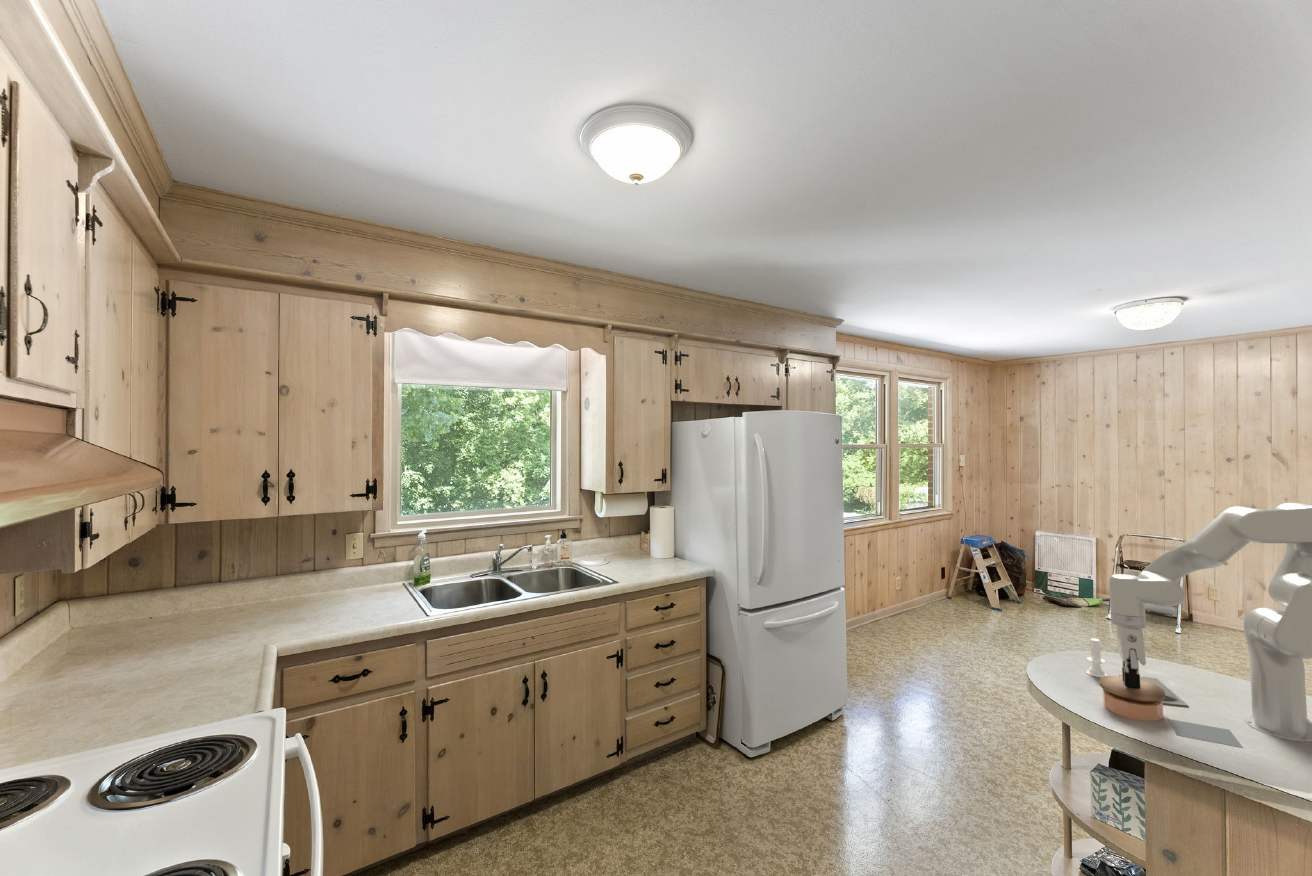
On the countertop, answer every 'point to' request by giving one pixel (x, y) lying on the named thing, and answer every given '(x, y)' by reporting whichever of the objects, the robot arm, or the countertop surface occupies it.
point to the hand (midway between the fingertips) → (1131, 684)
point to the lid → (1132, 689)
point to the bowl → (1133, 707)
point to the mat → (1204, 733)
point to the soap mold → (1166, 693)
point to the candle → (1096, 659)
